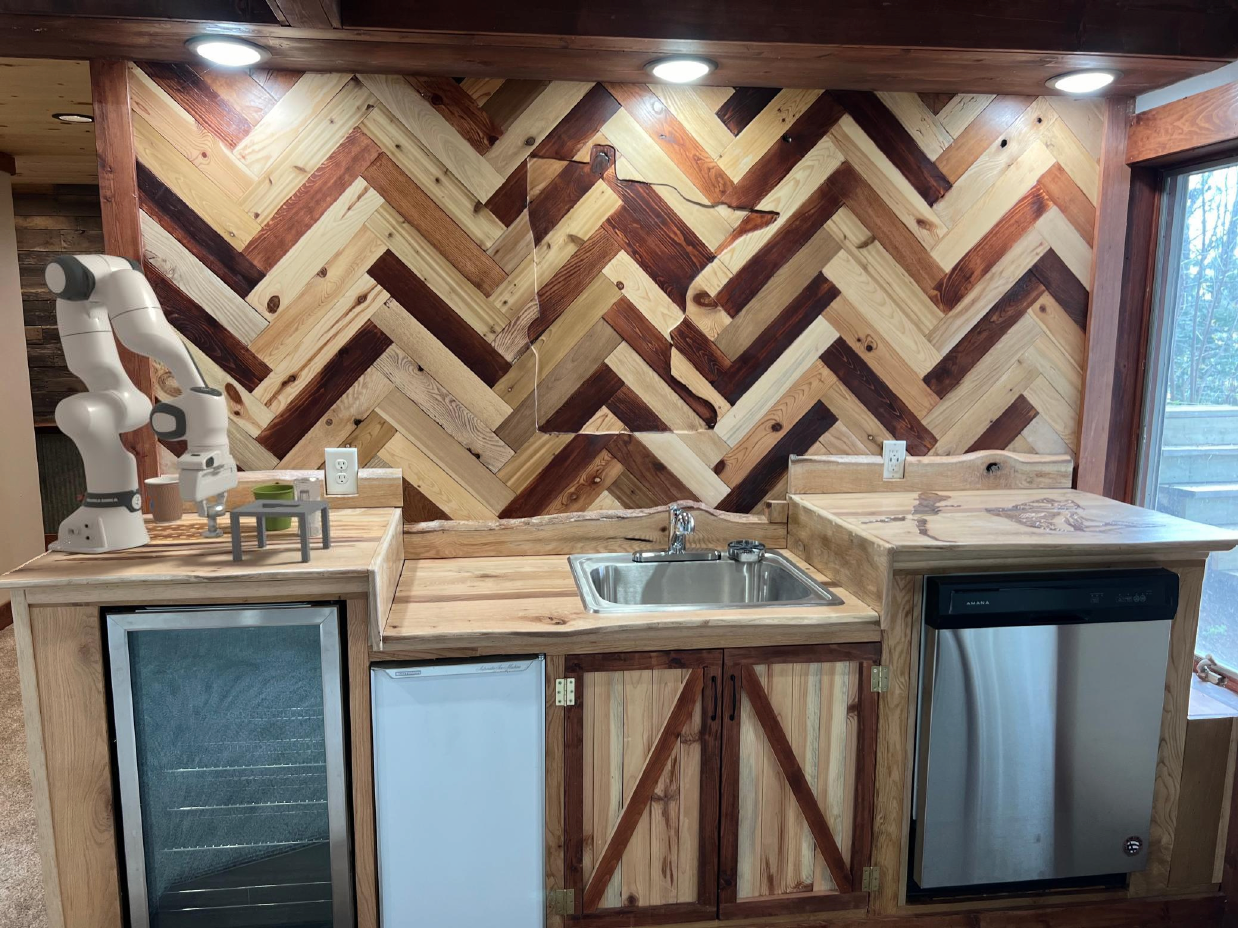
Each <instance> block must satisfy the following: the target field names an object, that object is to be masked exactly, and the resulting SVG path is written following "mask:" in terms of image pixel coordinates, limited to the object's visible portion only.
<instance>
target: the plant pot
mask: <svg viewBox="0 0 1238 928" xmlns="http://www.w3.org/2000/svg"><path fill="white" fill-rule="evenodd" d="M250 491H251V492H252V493H253V497H254V499H255V500H254V501H256V500H293V484H285V483H280V484H279V483H276V484H274V483H272V484H264V485H259V486H254V487H252V488H251V489H250ZM292 519H293V517H265V528H266V531H268V530H271V531H274V530H277V531H283V529H284V530H287V528H288V529H289V528H291V526H292Z"/></svg>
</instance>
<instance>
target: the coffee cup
mask: <svg viewBox="0 0 1238 928" xmlns="http://www.w3.org/2000/svg"><path fill="white" fill-rule="evenodd" d="M178 478H179V476H161V477H159V476H158V477H153V478H148V479H145V480H144V484H145V487H146V492H147V496H148V497H147V498H148V501H149V505H150V510H151V513H152V518H153V520H154V521H153V522H154V523H155V522H157V523H156V524H172V523H171V522H174V523H178V522H181V521H182V520H183V512H184V511H183V509H184V508H183V507H184V502H183V501H182V499H181V498H180V493H179V479H178ZM180 520H181V521H180ZM177 521H178V522H177Z"/></svg>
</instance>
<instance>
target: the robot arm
mask: <svg viewBox="0 0 1238 928" xmlns="http://www.w3.org/2000/svg"><path fill="white" fill-rule="evenodd" d="M43 278H44V283H45V286H46V288H47V289H48V291H49V292H50V293H51V294H52V295H53V297H55V298H56V302H55V303H56V304H55V305H56V306H55V307H56V308H55V311H56V320H57V327H58V332H59V337H60V338H59V339H60V341H61V346H62V349H63V353H64V356H65V357H64V359H65V362H66V364H67V368H68V370H69V372H71V373H72V374H73V375H75V376H76V377H78V378H79V379H80V380H81V381H82V382H83V383H84V384H85V386H86V388H87V389H88V392H86V391H85V392H78V393H76V394H73V395H71V396H68V397H66V398H64V399H62V400H61V401H59V402H58V404H57V406H56V408H55V412H54V418H55V422H56V425H57V427H58V428H59V430H60V431H61V432H62V433H63V434H65V435H66V436H68V437H69V438H70V439H71V440H72V441H73V442H74V443H75V445H76V447H77V449H78V451H79V453H80V455H81V458H82V460H83V461H82V462H83V465H84V466H83V467H84V473H85V478H86V479H85V481H86V488H87V490H86V491H85V492H84V493H82V494H78V495H76V497H78V498H77V501H80V500H82V502H81V506H80V507H79V508H78V509H77V510H76V511H74V512H73V513H71V515H68V517H66V518H65V519H64V520H62V522H61V523H60V524H59V527H58V534H57V537H58V538H57V540H55V541H53V542H51V543H50V544H48V546H47V550H48V551H58V552H70V553H71V552H72V553H83V554H84V553H85V554H100V553H105V552H112V551H118V550H124V549H125V550H126V549H130V548H135V547H141V546H143V545H146V544H148V543H150V542H151V537H150V536H149V533H148V530H147V527H146V525H145V520H144V517H143V511H142V505H143V503H142V500H143V498H142V491H141V487H140V486H139V479H138V478H139V477H138V467H137V460H136V457H135V455H134V454H132V453H131V452H129V451H128V450H127V449H126V448H125V447H124V444H123V443H122V440H121V437H120V434H122V433H123V434H124V433H128V432H132V431H136V430H137V429H139V428H142V427H143V426H145V425H146V424H148V423H149V426H150V428H151V430H152V432H153V434H154V435H155V436H156V437H157V438H159V439H160V440H163V441H168V442H169V441H170V442H172V441H173V442H174V441H175V442H177V441H181V440H186V441H187V449H186V450H185V452H184V453H183V454H182V455H180V457H178V459H177V460H176V467H177V469H179V472H178V477H179V478H178V479H179V493H180V498H181V499H182V501H183V503H193V505H194V506H195V508H196V509H197V516H199V518H202V517H203V519H205V518H204V517H207V516H208V515H209V509H207V508H206V505H205V503H207V499H209V498H211V497H214V496H216V499H215V500H216V501H215V503H224V504H225V505H226V503H225V502H226V500H227V497H228V491H230V490H233V489H235V488H237V487H238V483H239V477H238V468H237V463H236V461H235V459H233V455H232V454H231V452H230V439H229V438H228V429H229V413H228V406H227V401H226V398H225V395H224V393H223V392H222V391H221V390H219V389H217V388H213V387H209V385H208V383H207V381H206V380H205V377H204V376H203V374H202V371H201V370H200V368H199V366H198V364H197V362H196V360H195V358H194V356H193V353H192V352H191V351H190V349H189V348H188V346H187V344H186V343H185V342H184V341H183V339H181V338H180V337H179V336H178V334H176V332H175V331H174V329H173V328H172V327H171V325H170V323H169V322H168V320H167V318H166V317H165V314H164V311H163V310H162V307H161V304H160V302H159V299H158V298H157V296H156V293H155V292H154V290H153V287H152V286H151V285H150V282H149V281H148V280H147V278H146V275H145V271H144V269H143V267H142V265H141V264H140V263H139V262H138V261H137V260H134V259H133V258H130V257H126V256H123V255H122V256H121V255H117V256H116V255H115V256H114V255H111V254H110V255H109V254H108V255H107V254H99V253H92V254H76V255H71V254H63V255H57V256H54V257H52V258H49V260H48V261H47V262H46V265H45V266H44V271H43ZM110 322H111V323H110ZM111 324H112V325H111ZM112 327H113V329H112ZM113 330H114V332H115V335H116V337H117V339H118V340H119V342H121V344H122V345H123V346H124V347H125V348H126V349H128V350H130V351H131V352H133V353H135V354H138V355H141V356H144V357H148V358H150V359H152V360H155V361H157V362H159V363H160V364H162V365H163V366H165V367H166V368H167V369H168V370H169V371H170V373H171V374H172V376H173V378H174V380H175V382H176V384H177V385H178V387H179V389H180V392H181V393H182V394H180V395H178V396H177V397H173V398H171V399H167V400H163V401H160V402H158V403H156V404H155V405H154V406H153V405H152V401H151V400H150V399H149V397H148V396H147V395H146V394H145V393H143V392H142V391H141V390H139V389H138V388H137V386H135V384H134V383H133V382H132V381H131V378H129V376H128V374H127V372H126V371H125V368H124V367H123V364H122V362H121V359H120V355H119V352H118V348H117V344H116V341H115V338H114V334H113ZM69 542H70V543H69ZM58 547H60V548H59V549H58Z"/></svg>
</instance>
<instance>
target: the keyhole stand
mask: <svg viewBox="0 0 1238 928" xmlns="http://www.w3.org/2000/svg"><path fill="white" fill-rule="evenodd" d="M319 510H320V522H321V536H322V537H321V541H322V550H329V549H331V548H332V543H331V542H332V541H331V539H332V538H331V522H330V521H331V519H330V504H329V500H326V499H325V500H322V499H321V500H254V501H251V502H248V503H247V504H244V505H241V506H239V507H236V508H234V509H231V510H230V511H229V521H230V522H229V523H230V537H231V551H232V552H231V553H232V562H241V561H243V547H242V533H241V523H240V522H241V520H240V518H244V517H245V518H247V517H248V518H249V517H250V518H255V523H256V538H257V548H258V547H265V548H266V546H267V530H266V528H265V517H292V518H297V517H299V525H300V537H299V539H300V554H301V557H300V558H301V563H309V562H311V545H310V544H311V543H310V542H311V541H310V537H309V524H308V516H309V515H311V514H313V513H315V512H317V511H319ZM330 547H331V548H330Z"/></svg>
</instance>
